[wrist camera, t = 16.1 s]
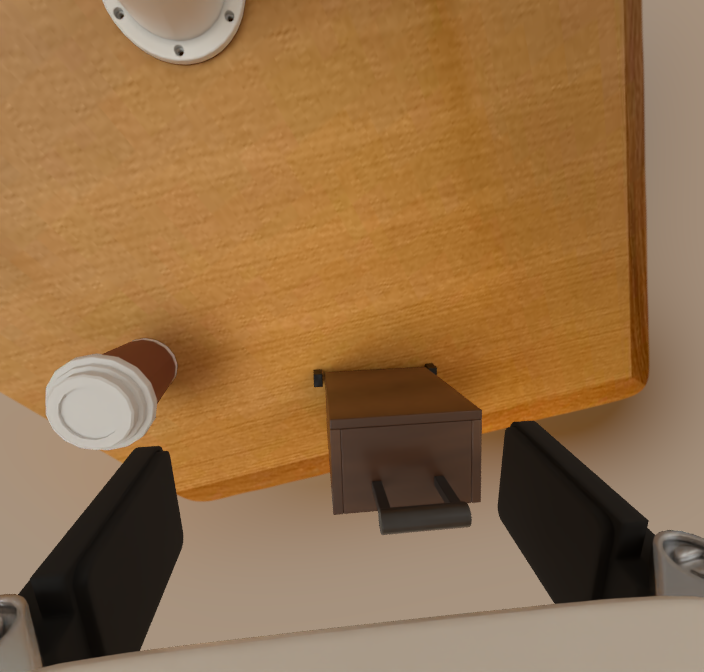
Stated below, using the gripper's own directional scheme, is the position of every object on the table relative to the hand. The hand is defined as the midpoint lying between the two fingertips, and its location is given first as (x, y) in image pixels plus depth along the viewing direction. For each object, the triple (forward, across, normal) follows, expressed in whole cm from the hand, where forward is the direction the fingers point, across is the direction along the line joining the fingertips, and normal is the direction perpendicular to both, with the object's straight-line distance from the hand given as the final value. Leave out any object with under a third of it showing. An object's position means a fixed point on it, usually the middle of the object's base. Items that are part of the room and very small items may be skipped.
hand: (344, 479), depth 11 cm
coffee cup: (+34, +20, +8) cm, 41 cm away
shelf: (+23, -6, +8) cm, 25 cm away
